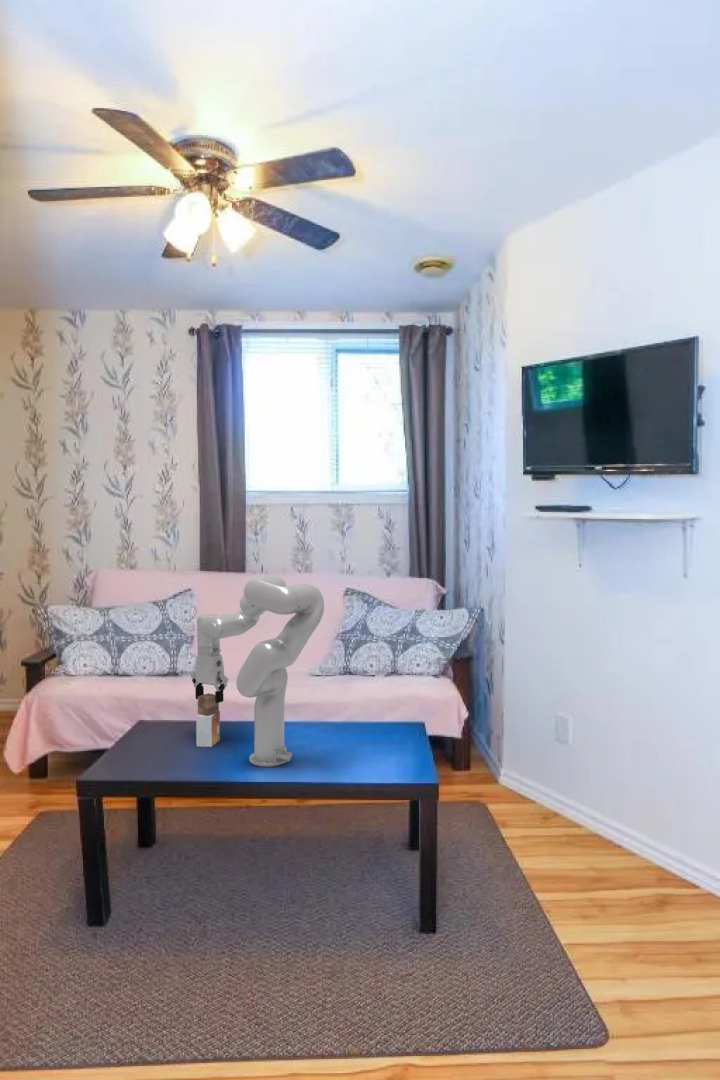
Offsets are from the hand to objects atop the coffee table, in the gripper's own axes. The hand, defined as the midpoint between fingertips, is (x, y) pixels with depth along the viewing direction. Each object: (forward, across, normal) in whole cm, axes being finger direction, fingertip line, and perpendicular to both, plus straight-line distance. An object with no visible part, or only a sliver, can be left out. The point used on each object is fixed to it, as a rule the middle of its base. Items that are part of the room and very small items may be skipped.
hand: (209, 700), depth 230 cm
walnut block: (+4, +1, 0) cm, 5 cm away
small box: (+15, +1, 0) cm, 15 cm away
